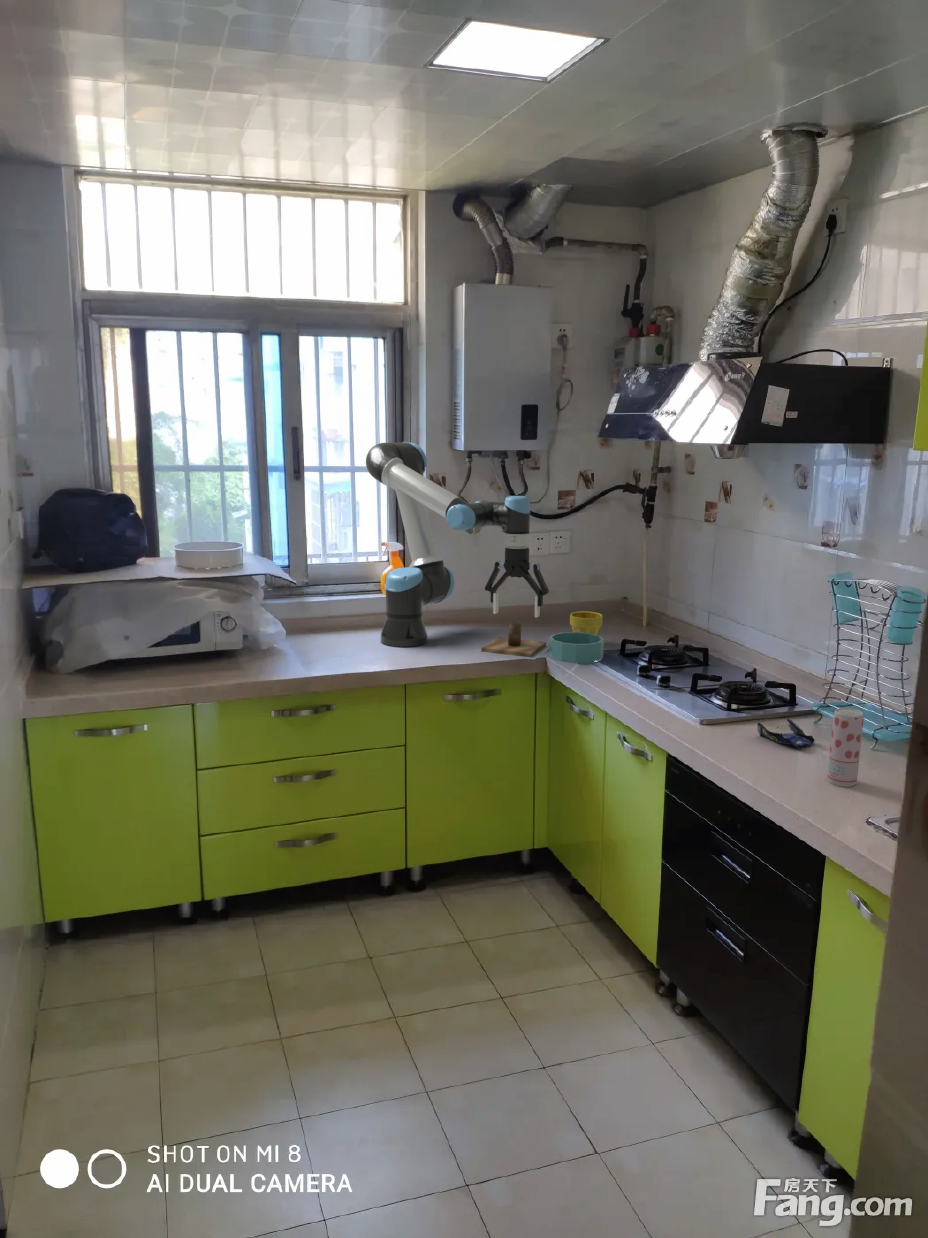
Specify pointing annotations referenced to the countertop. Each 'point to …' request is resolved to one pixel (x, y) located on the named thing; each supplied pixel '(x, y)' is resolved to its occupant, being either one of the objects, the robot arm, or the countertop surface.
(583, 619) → the plant pot
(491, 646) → the lid
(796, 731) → the snack package
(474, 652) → the mat
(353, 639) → the countertop surface
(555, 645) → the bowl
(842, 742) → the beverage can
